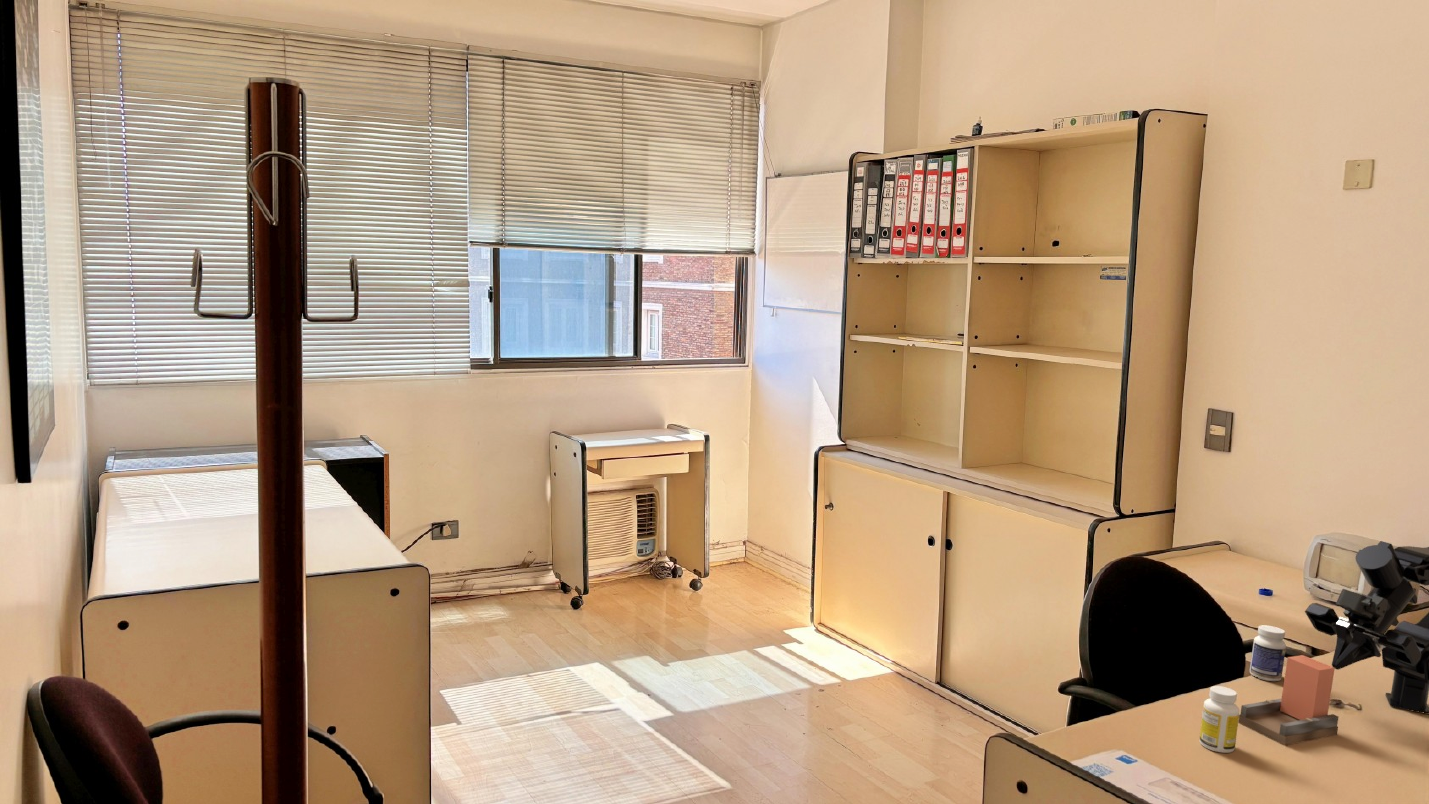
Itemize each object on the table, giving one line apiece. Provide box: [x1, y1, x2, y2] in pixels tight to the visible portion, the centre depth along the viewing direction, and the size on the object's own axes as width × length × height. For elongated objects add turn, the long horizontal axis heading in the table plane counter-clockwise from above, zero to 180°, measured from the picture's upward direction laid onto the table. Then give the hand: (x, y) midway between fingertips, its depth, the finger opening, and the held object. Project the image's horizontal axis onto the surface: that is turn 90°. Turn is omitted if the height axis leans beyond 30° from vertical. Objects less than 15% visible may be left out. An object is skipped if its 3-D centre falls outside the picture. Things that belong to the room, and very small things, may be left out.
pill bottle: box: [1249, 624, 1287, 682], centre depth 202 cm, size 6×6×10 cm
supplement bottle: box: [1199, 685, 1240, 754], centre depth 169 cm, size 5×5×10 cm
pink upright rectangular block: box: [1280, 654, 1336, 720], centre depth 179 cm, size 4×6×10 cm, turn 24°
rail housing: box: [1238, 697, 1339, 746], centre depth 178 cm, size 14×9×4 cm, turn 114°
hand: (1334, 667), depth 182 cm, fingers closed
